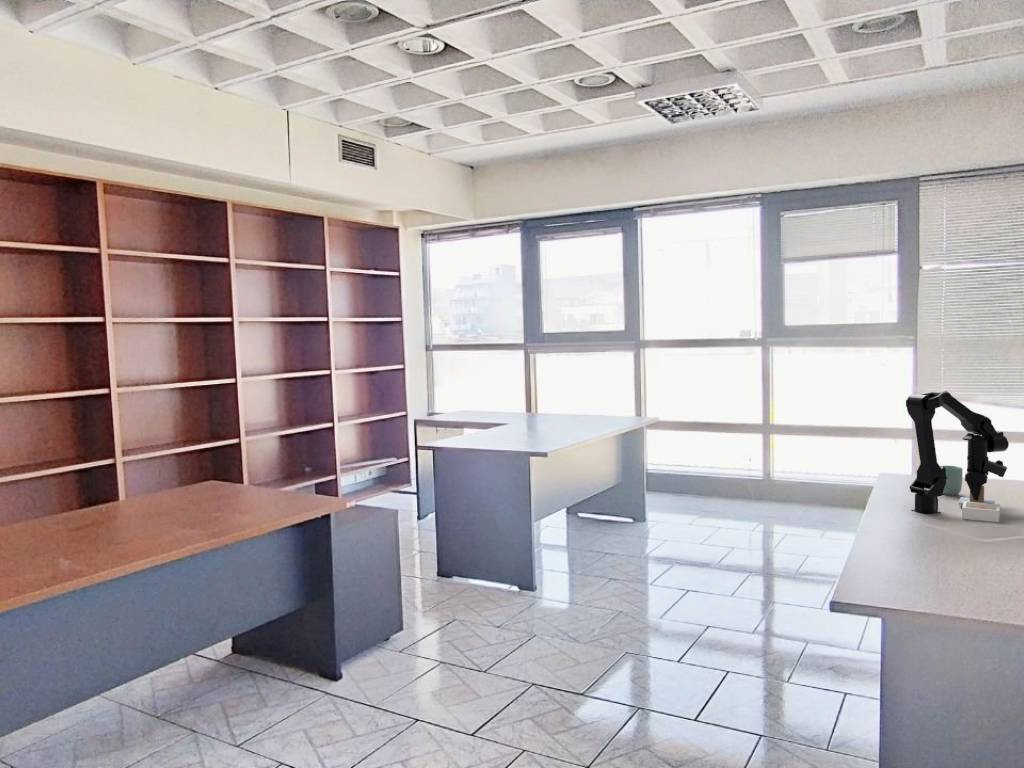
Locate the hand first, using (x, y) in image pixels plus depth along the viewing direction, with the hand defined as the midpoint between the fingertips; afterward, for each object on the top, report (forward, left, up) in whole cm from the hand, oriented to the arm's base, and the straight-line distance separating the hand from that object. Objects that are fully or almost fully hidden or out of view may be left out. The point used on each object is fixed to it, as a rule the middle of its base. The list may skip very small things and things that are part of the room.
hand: (976, 499), depth 264 cm
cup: (+9, +20, -3) cm, 22 cm away
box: (-11, -12, -3) cm, 16 cm away
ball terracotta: (-9, -11, -2) cm, 15 cm away
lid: (0, 0, -2) cm, 2 cm away
